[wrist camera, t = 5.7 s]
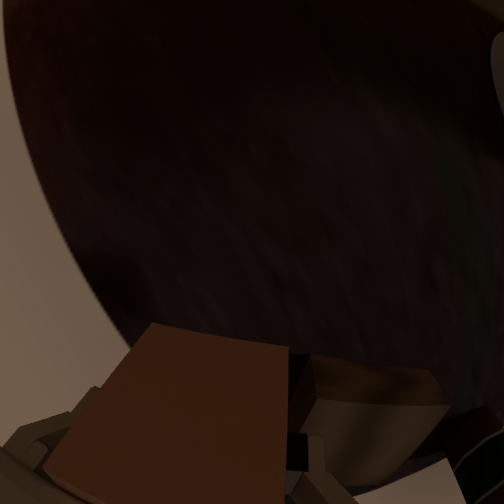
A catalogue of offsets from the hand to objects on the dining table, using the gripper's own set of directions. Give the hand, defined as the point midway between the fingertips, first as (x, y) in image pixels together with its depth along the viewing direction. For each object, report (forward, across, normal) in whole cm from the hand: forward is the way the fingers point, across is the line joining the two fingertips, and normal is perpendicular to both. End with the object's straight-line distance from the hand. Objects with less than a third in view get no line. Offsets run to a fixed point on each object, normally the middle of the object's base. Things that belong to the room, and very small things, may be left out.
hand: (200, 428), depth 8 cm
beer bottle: (+11, -28, +15) cm, 34 cm away
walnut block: (+11, -10, +10) cm, 18 cm away
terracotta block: (+2, 0, 0) cm, 2 cm away
